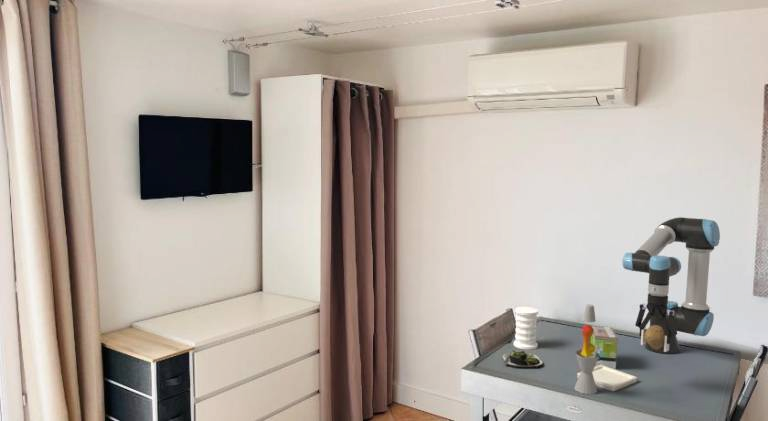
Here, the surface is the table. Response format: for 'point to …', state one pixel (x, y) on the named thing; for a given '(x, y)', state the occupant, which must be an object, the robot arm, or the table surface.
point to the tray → (611, 378)
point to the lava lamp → (587, 356)
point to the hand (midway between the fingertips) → (654, 347)
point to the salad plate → (522, 360)
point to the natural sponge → (655, 336)
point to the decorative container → (526, 328)
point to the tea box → (605, 346)
